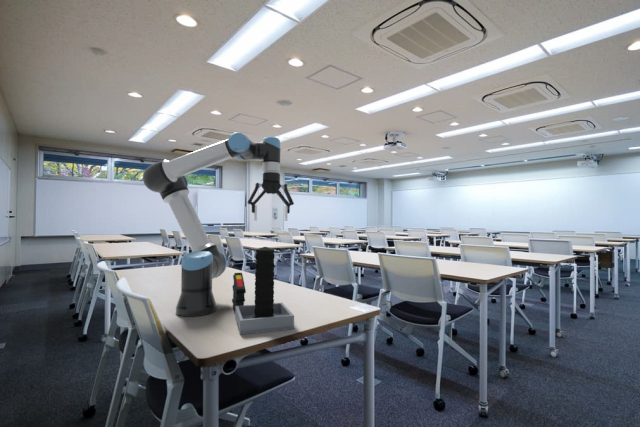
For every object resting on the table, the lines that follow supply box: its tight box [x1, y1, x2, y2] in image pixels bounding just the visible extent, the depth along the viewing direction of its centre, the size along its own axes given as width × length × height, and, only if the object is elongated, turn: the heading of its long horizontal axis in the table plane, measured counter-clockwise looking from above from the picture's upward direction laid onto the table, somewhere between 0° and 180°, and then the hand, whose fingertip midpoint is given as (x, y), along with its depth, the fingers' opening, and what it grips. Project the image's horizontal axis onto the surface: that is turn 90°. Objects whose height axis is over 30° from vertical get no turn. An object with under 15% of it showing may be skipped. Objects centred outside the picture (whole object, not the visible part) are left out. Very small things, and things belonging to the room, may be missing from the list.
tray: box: [234, 302, 295, 335], centre depth 114 cm, size 18×18×4 cm
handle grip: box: [251, 246, 276, 319], centre depth 115 cm, size 10×26×10 cm
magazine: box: [231, 272, 247, 312], centre depth 130 cm, size 4×13×15 cm, turn 21°
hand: (270, 220), depth 141 cm, fingers open, 13 cm apart
